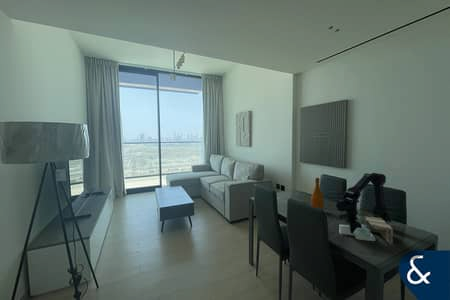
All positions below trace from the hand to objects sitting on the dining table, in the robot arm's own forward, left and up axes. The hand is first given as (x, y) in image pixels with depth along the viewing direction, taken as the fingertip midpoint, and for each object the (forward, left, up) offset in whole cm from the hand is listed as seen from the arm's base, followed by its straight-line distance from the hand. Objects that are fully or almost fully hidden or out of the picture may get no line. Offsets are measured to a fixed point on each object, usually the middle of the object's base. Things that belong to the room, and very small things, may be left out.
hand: (351, 232), depth 128 cm
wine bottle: (-37, -16, -2) cm, 41 cm away
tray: (0, +2, -2) cm, 3 cm away
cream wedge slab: (0, +15, -2) cm, 15 cm away
